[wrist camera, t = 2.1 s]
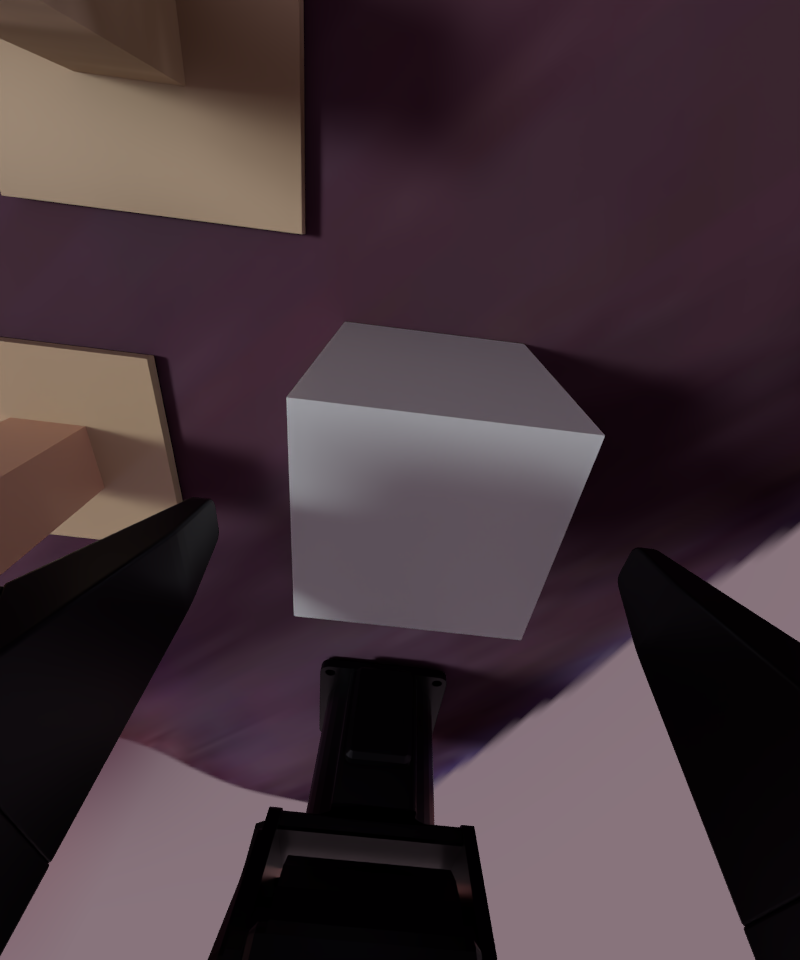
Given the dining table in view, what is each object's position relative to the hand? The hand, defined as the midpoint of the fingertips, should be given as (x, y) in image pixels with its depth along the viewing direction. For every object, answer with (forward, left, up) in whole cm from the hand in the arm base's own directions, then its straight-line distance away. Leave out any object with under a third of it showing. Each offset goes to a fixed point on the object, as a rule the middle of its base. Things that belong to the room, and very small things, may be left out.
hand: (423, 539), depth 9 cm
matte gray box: (0, 0, -6) cm, 6 cm away
